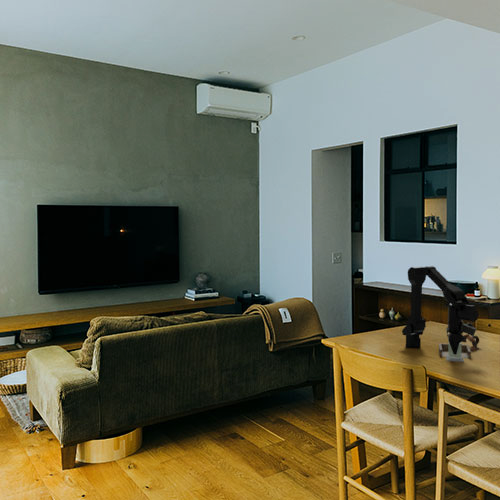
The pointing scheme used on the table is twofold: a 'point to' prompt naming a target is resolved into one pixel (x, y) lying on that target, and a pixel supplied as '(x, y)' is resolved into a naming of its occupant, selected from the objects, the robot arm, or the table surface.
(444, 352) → the walnut crate
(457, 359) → the slate tile
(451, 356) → the sage block
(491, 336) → the table surface
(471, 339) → the pottery mug
